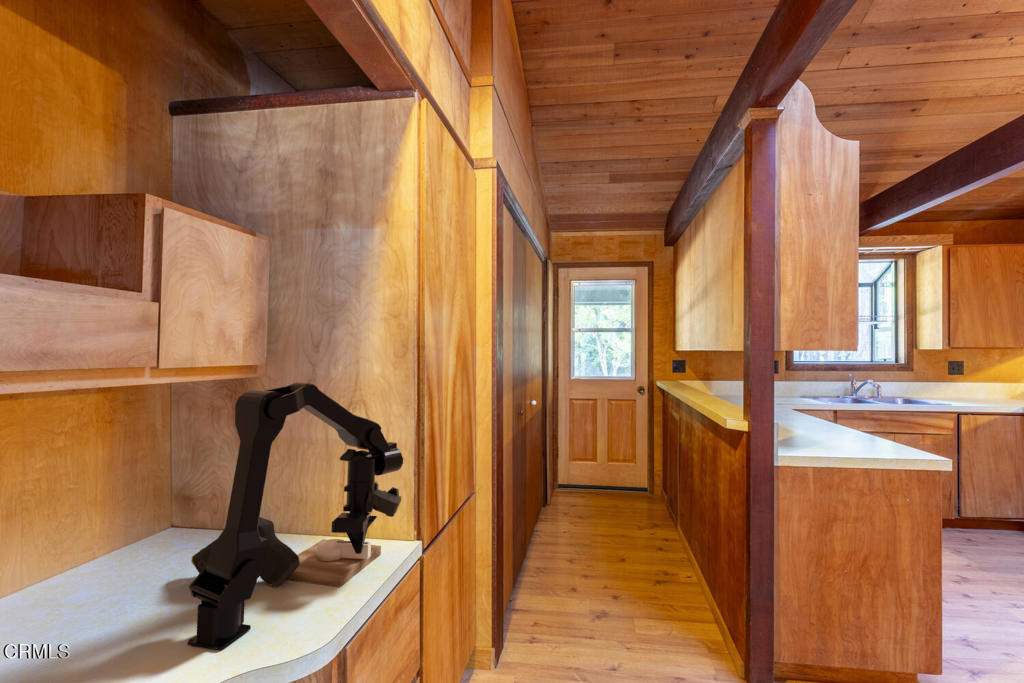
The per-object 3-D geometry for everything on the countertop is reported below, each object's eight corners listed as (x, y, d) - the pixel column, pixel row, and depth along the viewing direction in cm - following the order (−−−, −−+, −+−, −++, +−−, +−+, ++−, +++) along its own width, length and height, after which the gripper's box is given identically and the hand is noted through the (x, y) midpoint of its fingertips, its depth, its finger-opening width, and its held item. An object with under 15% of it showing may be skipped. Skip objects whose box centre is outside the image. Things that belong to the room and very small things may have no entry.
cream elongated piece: (311, 560, 105) (311, 545, 105) (324, 549, 111) (324, 535, 111) (364, 563, 104) (364, 547, 104) (373, 552, 110) (374, 537, 110)
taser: (294, 575, 96) (254, 510, 98) (225, 622, 98) (186, 558, 99) (305, 566, 101) (267, 504, 102) (239, 611, 102) (202, 549, 103)
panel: (340, 587, 98) (341, 576, 98) (274, 578, 101) (274, 568, 101) (381, 554, 115) (381, 545, 115) (323, 547, 118) (323, 538, 118)
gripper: (388, 490, 97) (386, 571, 97) (406, 471, 116) (404, 538, 115) (331, 490, 97) (328, 571, 96) (359, 470, 116) (356, 538, 115)
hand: (358, 553), depth 106 cm, fingers closed
